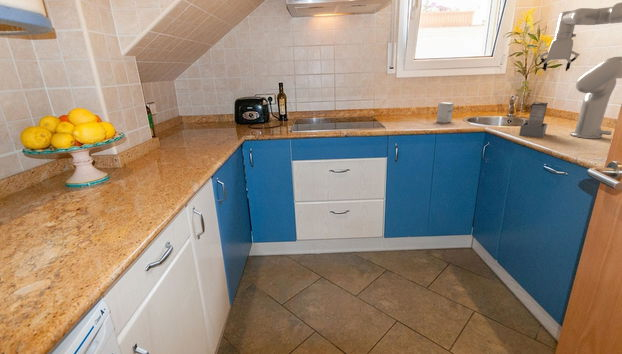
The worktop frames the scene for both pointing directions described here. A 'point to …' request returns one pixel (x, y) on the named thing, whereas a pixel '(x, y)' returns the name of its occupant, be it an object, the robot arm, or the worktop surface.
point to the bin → (532, 130)
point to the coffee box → (537, 114)
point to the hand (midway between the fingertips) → (555, 70)
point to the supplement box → (444, 112)
